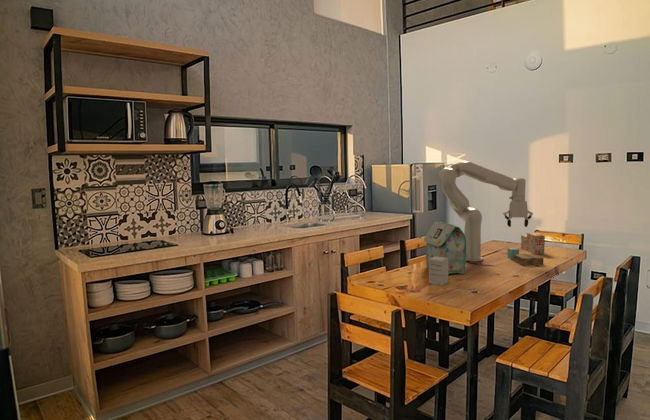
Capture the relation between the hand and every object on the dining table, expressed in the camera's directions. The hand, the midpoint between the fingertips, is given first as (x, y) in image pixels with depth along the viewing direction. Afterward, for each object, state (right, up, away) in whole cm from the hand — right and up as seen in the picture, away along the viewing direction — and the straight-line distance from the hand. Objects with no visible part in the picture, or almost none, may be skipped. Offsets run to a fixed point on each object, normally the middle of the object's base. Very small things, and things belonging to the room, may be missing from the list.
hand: (517, 226), depth 279 cm
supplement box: (-61, -27, -51) cm, 84 cm away
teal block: (-2, -20, +2) cm, 20 cm away
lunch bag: (-51, -24, -25) cm, 61 cm away
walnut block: (+1, -21, -12) cm, 24 cm away
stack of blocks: (+19, -17, +22) cm, 34 cm away
